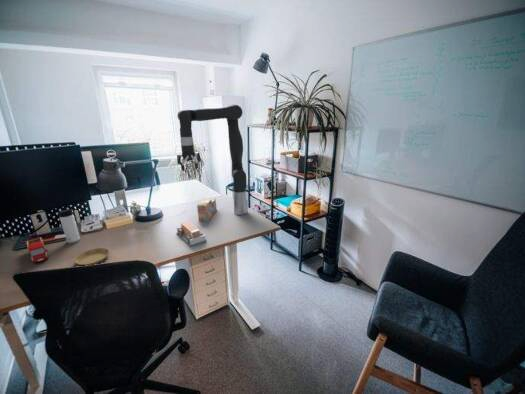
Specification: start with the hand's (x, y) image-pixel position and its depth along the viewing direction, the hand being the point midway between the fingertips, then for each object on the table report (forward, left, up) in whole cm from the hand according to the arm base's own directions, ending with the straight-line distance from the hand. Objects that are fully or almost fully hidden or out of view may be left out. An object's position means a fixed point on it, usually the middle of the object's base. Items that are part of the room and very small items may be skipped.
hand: (190, 169), depth 157 cm
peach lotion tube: (+12, +20, -35) cm, 42 cm away
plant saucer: (+61, +10, -37) cm, 71 cm away
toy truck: (+82, -13, -36) cm, 91 cm away
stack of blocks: (-11, -4, -36) cm, 38 cm away
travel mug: (+67, -20, -36) cm, 79 cm away
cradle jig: (+12, +20, -36) cm, 43 cm away
